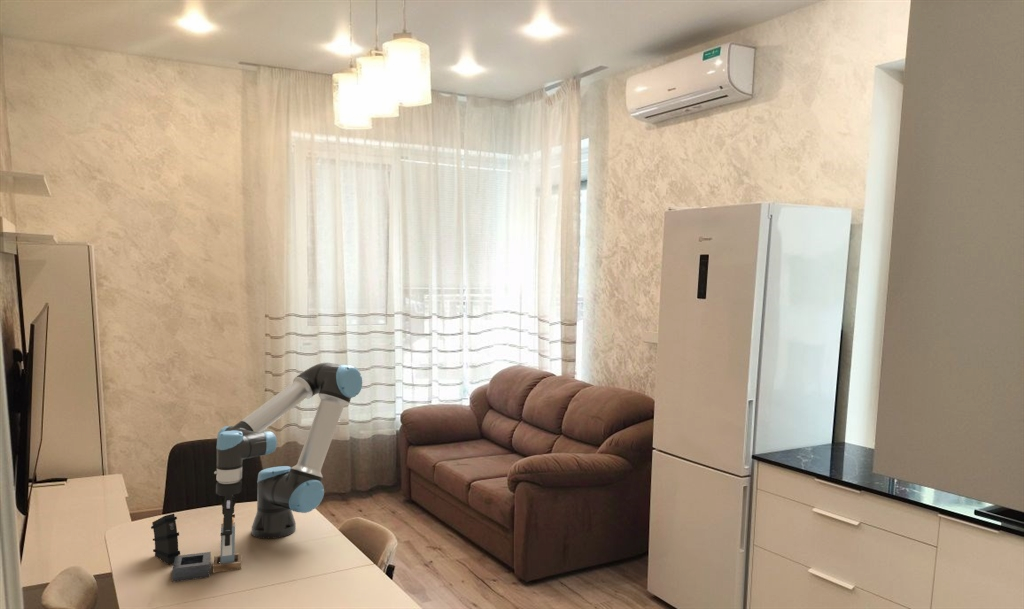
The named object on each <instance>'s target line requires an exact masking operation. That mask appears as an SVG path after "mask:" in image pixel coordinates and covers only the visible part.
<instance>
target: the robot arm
mask: <svg viewBox="0 0 1024 609" xmlns="http://www.w3.org/2000/svg"><path fill="white" fill-rule="evenodd" d="M362 388H363V377H362V376H361V372H360V371H359V369H358V368H357V367H355V366H353V365H349V364H340V363H331V362H322V363H318V364H315V365H312V366H311V367H309V368H307V369H305V370H304V371H303V372H301V373H300V374H298V375H297V376H295V377H294V378H293V379H292V383H291V384H288V386H286V387H285V388H283V389H282V390H281V391H280V392H278V393H276V394H275V395H274V396H273V397H271V398H270V399H269V400H268V401H266V402H264V403H263V404H262V405H261V406H258V408H256V409H255V410H254V411H252V412H251V413H250V414H248V415H247V416H245V417H244V418H243V419H241V420H240V421H239V422H238V423H236V424H235V425H226V426H224V427H222V428H221V429H220V430H219V431H218V433H217V436H216V447H215V448H216V470H215V471H213V474H214V475H216V481H217V482H216V483H215V494H216V495H218V496H223V497H222V498H221V507H222V508H221V510H222V512H221V513H222V515H223V518H224V523H223V522H222V524H223V533H221V532H220V537H221V536H223V544H222V556H228V555H232V517H234V518H233V519H235V518H236V514H234V513H235V505H236V496H234V495H238V494H240V493H241V492H242V490H243V487H242V486H243V480H242V479H243V460H246V459H251V458H256V457H261V456H266V455H269V454H272V453H274V452H275V451H276V449H277V447H278V445H277V444H278V438H277V436H276V434H275V433H274V432H272V431H270V430H268V431H266V430H267V428H269V427H270V426H271V425H273V424H274V423H275V422H277V421H278V420H279V419H280V418H282V417H284V415H286V414H287V413H288V412H290V411H291V410H292V409H293V408H295V407H296V406H298V404H300V403H301V402H303V401H304V400H305V399H307V400H308V399H311V398H313V396H315V395H317V394H318V397H319V400H320V402H319V404H318V407H317V409H316V412H315V415H314V418H313V420H312V423H311V426H310V428H309V431H308V434H307V437H306V440H305V442H304V445H303V447H302V450H301V452H300V455H299V458H298V460H297V463H296V465H293V466H292V467H291V466H288V465H283V466H273V467H268V468H265V469H262V470H260V471H259V472H258V474H257V481H256V482H257V490H256V492H257V496H256V497H257V498H256V499H257V500H256V501H257V503H256V505H257V506H256V507H257V508H256V513H255V517H254V519H253V522H252V525H251V535H252V536H253V537H255V538H258V539H266V540H267V539H268V540H269V539H270V540H271V539H278V538H283V537H287V536H289V535H292V534H293V533H294V532H296V527H297V526H296V524H297V522H296V518H295V517H294V514H293V512H295V513H300V514H306V513H309V512H312V511H313V510H316V508H318V506H319V505H320V504H321V503H322V500H323V498H324V495H325V489H324V488H325V487H324V484H323V483H322V481H323V477H324V476H323V474H322V468H323V465H324V462H325V459H326V457H327V454H328V451H329V448H330V446H331V443H332V440H333V438H334V435H335V432H336V429H337V426H338V423H339V421H340V418H341V415H342V412H343V409H344V407H347V406H348V405H349V404H350V403H351V400H352V399H353V398H356V396H358V395H359V394H360V392H361V391H362ZM226 530H230V531H226Z"/></svg>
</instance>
